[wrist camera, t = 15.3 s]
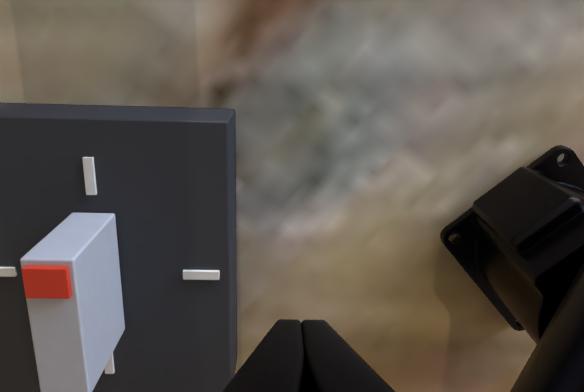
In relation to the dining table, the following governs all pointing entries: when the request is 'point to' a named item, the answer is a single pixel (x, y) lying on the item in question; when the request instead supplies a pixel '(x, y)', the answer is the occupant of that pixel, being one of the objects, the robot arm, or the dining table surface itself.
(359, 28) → the dining table surface
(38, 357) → the gray box
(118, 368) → the timer panel
